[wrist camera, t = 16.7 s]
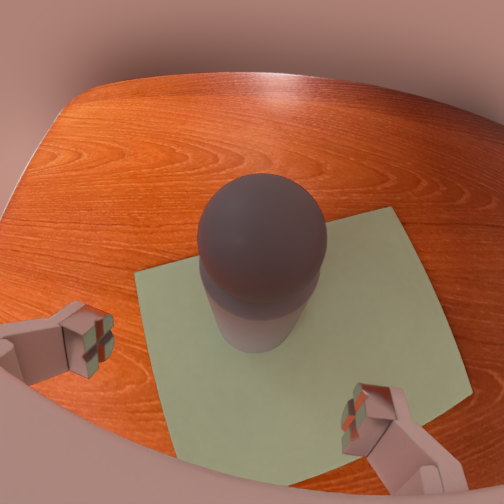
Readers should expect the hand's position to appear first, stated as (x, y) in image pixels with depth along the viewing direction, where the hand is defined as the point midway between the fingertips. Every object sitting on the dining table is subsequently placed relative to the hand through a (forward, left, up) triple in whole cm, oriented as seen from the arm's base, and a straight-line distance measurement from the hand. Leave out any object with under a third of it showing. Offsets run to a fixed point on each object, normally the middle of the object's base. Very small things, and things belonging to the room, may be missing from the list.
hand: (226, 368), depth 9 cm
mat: (+5, +1, -10) cm, 11 cm away
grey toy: (+2, +4, -9) cm, 10 cm away
